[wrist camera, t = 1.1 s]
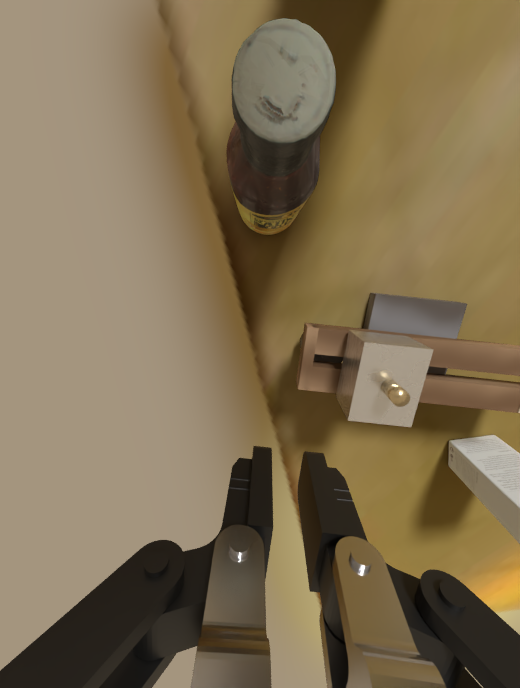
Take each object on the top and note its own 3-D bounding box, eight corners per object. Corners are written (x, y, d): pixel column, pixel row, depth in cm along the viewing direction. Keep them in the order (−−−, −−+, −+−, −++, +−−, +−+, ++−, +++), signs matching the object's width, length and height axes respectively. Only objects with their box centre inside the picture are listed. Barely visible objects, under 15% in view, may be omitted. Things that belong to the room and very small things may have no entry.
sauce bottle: (257, 247, 31) (241, 217, 12) (228, 193, 29) (154, 58, 10) (310, 215, 30) (388, 124, 11) (282, 157, 28) (313, -67, 9)
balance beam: (301, 285, 32) (313, 292, 23) (527, 309, 32) (619, 325, 23) (287, 381, 35) (293, 418, 27) (492, 403, 35) (562, 446, 27)
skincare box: (447, 466, 38) (525, 554, 26) (447, 439, 37) (530, 519, 25) (493, 460, 37) (594, 548, 26) (495, 433, 36) (602, 511, 25)
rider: (343, 325, 26) (374, 350, 18) (397, 331, 26) (451, 358, 18) (331, 388, 27) (355, 435, 20) (381, 394, 27) (425, 443, 20)
